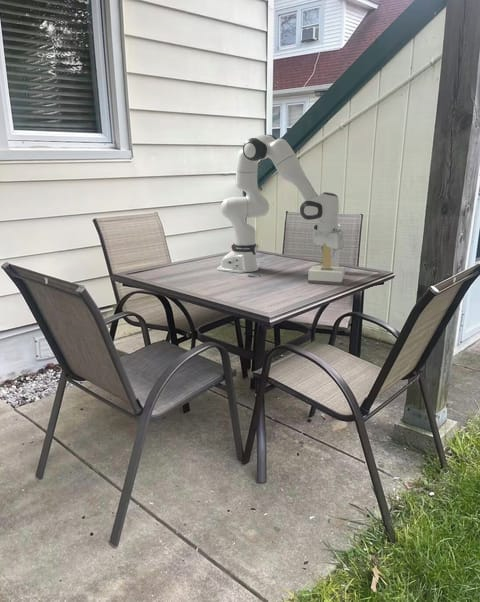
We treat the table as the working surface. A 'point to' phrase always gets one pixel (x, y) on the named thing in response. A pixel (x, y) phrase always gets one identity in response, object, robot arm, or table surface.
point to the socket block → (326, 275)
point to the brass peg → (326, 257)
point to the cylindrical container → (336, 255)
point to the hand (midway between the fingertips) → (327, 255)
